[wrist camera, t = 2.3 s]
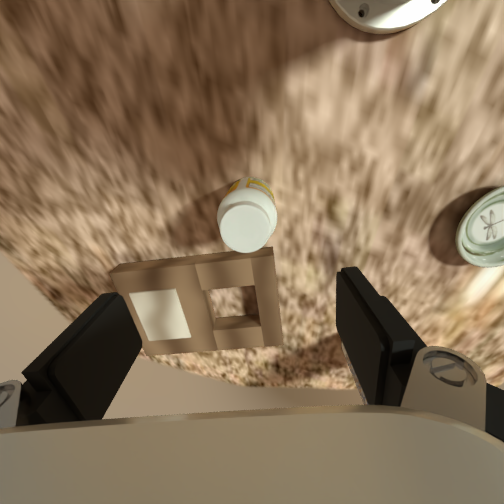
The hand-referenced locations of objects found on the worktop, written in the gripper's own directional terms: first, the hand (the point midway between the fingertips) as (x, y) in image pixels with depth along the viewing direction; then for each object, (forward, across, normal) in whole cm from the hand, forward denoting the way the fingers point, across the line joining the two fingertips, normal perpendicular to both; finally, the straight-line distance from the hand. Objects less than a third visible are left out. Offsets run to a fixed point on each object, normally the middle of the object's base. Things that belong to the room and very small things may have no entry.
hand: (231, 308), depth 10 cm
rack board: (+19, +8, +13) cm, 24 cm away
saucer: (+19, -27, +6) cm, 34 cm away
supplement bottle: (+19, 0, 0) cm, 19 cm away
